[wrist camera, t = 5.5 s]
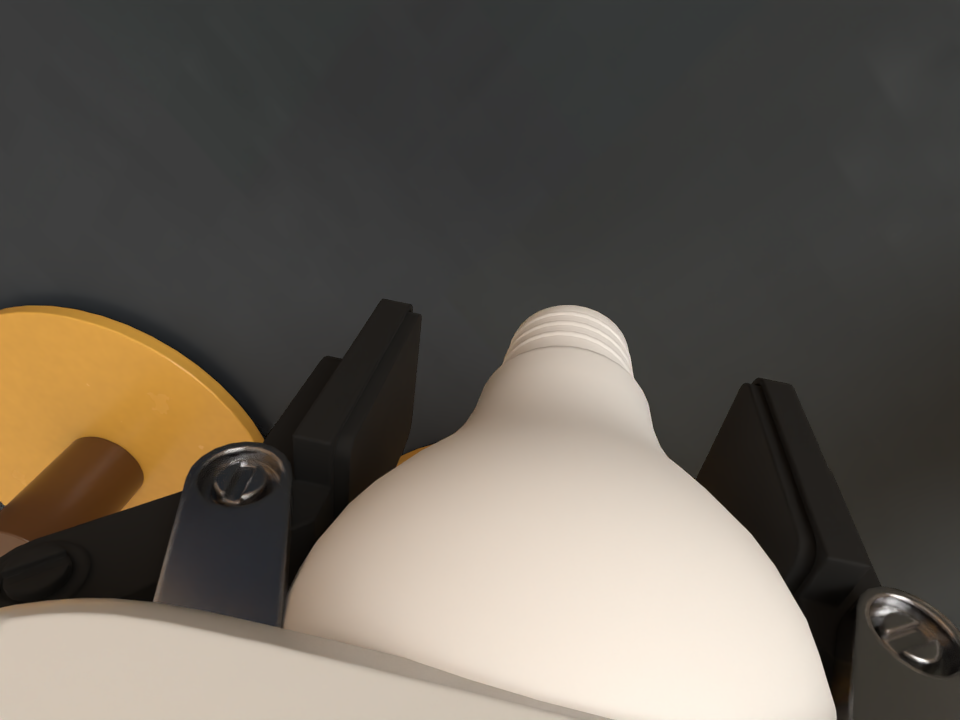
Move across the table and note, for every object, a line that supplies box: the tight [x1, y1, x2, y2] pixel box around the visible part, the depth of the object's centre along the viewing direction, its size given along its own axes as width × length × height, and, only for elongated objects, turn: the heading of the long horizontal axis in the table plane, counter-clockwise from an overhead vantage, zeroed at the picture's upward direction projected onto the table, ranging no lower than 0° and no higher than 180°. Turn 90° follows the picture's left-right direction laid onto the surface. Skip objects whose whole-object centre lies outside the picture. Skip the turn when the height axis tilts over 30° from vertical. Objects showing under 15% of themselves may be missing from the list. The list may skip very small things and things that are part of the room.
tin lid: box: [0, 305, 264, 557], centre depth 24 cm, size 15×15×6 cm
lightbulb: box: [281, 305, 837, 720], centre depth 9 cm, size 6×6×11 cm
